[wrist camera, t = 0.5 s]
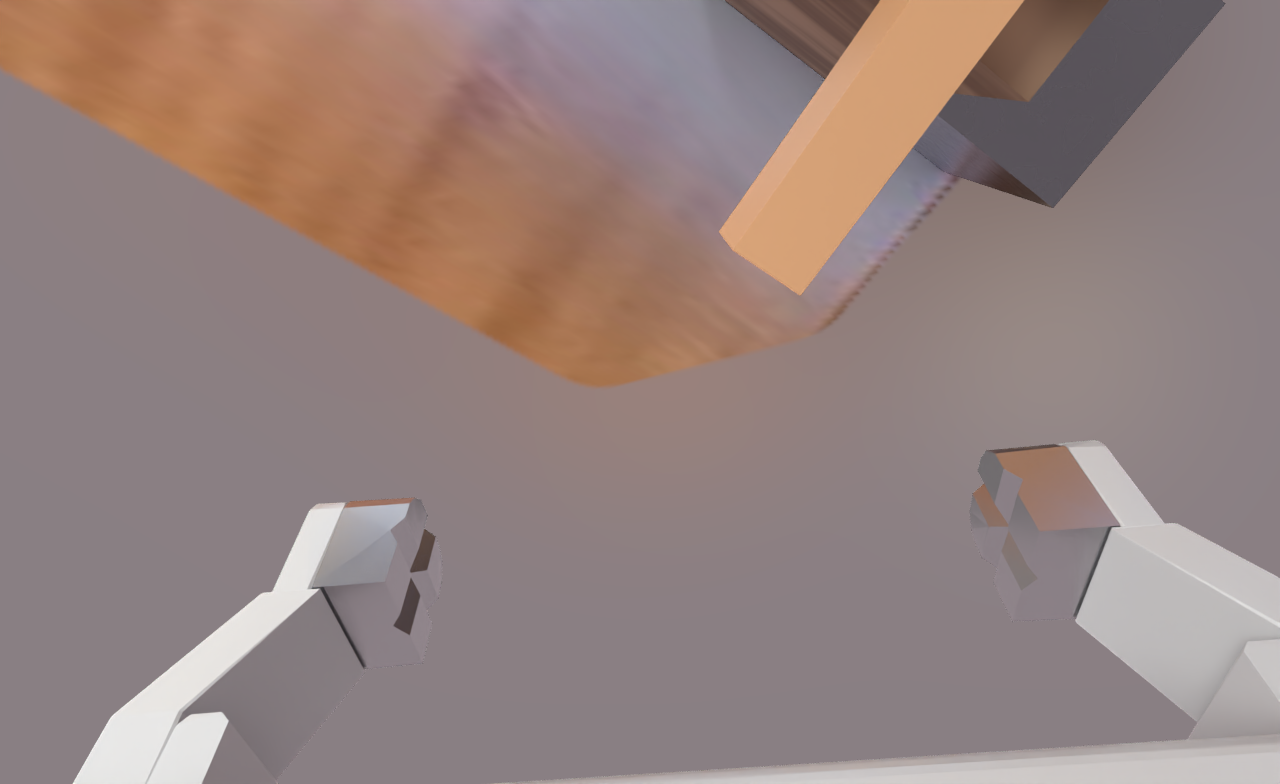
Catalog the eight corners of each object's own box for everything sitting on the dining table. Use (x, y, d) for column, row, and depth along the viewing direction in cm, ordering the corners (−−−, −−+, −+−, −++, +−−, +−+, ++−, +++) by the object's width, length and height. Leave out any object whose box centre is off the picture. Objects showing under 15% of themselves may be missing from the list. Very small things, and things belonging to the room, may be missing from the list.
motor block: (943, 171, 55) (1052, 208, 42) (830, 83, 52) (911, 94, 39) (1065, 15, 51) (1225, 3, 38) (951, -89, 48) (1083, -139, 36)
